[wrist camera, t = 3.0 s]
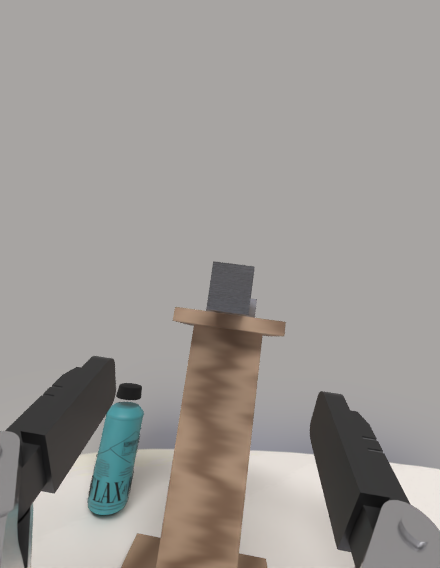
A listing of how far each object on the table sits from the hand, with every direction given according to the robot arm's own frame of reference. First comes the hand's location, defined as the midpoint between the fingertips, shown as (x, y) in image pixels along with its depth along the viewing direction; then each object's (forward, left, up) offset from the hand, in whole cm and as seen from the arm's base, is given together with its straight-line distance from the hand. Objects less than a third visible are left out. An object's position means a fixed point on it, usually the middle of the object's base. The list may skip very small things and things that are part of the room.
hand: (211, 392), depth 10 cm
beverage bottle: (+16, -38, -29) cm, 50 cm away
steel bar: (0, -18, +5) cm, 18 cm away
